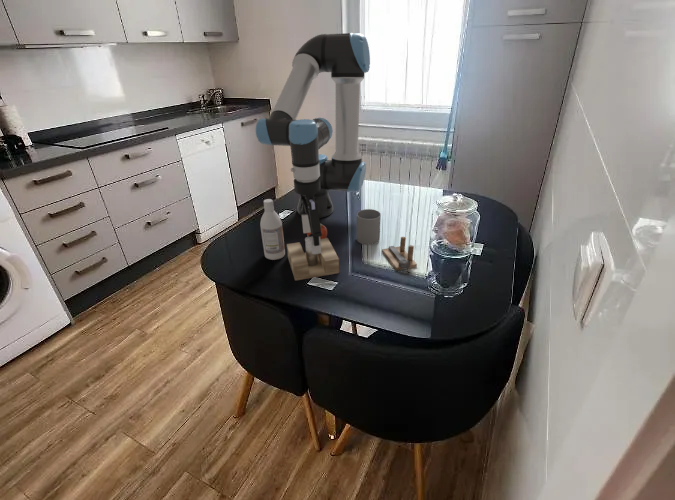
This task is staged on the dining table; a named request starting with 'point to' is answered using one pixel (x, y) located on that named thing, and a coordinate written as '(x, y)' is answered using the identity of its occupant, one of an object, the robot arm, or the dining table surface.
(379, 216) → the cup
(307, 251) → the pin
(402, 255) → the peg rack
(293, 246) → the slot block
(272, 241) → the bath foam
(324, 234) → the tomato
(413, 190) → the dining table surface
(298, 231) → the dining table surface
